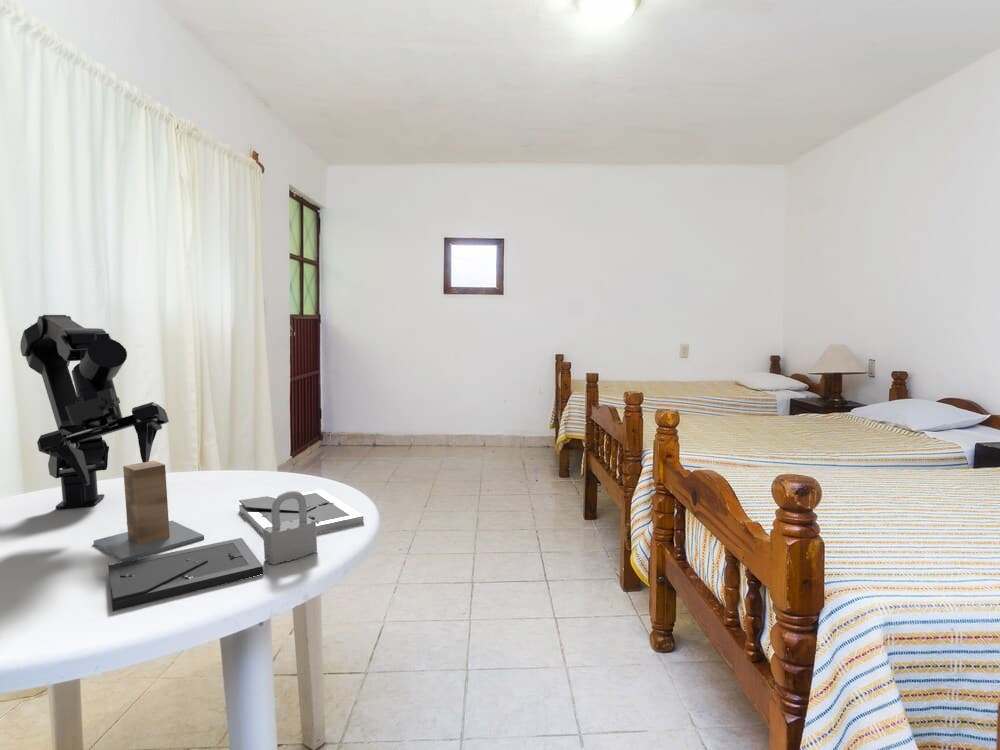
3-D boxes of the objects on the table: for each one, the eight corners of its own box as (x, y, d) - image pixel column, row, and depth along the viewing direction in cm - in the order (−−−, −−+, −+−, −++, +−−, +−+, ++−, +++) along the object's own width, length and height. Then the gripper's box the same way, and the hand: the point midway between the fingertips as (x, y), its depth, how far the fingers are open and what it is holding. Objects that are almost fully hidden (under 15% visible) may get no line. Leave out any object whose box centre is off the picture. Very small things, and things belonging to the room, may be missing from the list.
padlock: (274, 567, 86) (270, 499, 85) (262, 559, 89) (259, 494, 88) (319, 553, 91) (316, 489, 90) (307, 546, 94) (304, 484, 93)
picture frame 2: (239, 514, 111) (271, 548, 95) (239, 500, 111) (270, 531, 94) (321, 499, 121) (363, 527, 104) (321, 485, 120) (363, 511, 104)
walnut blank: (128, 538, 96) (123, 466, 94) (158, 531, 99) (153, 460, 98) (139, 545, 93) (134, 470, 92) (169, 537, 96) (165, 464, 95)
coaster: (93, 544, 95) (93, 540, 95) (172, 523, 104) (172, 520, 104) (122, 562, 88) (121, 558, 88) (204, 538, 97) (204, 535, 97)
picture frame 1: (112, 616, 73) (263, 579, 83) (111, 599, 73) (262, 563, 83) (108, 578, 84) (242, 549, 94) (107, 562, 84) (241, 535, 94)
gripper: (10, 397, 95) (29, 488, 92) (136, 362, 101) (159, 446, 97) (46, 414, 106) (65, 497, 102) (158, 381, 111) (180, 459, 107)
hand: (116, 474), depth 102 cm, fingers open, 9 cm apart
